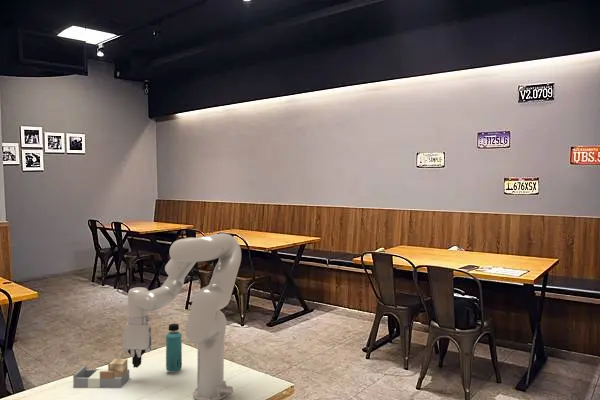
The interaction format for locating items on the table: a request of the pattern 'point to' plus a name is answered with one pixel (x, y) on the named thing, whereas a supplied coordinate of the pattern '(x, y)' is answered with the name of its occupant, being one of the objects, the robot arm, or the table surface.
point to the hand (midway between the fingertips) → (136, 366)
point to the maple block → (119, 367)
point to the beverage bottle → (173, 349)
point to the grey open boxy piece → (98, 378)
